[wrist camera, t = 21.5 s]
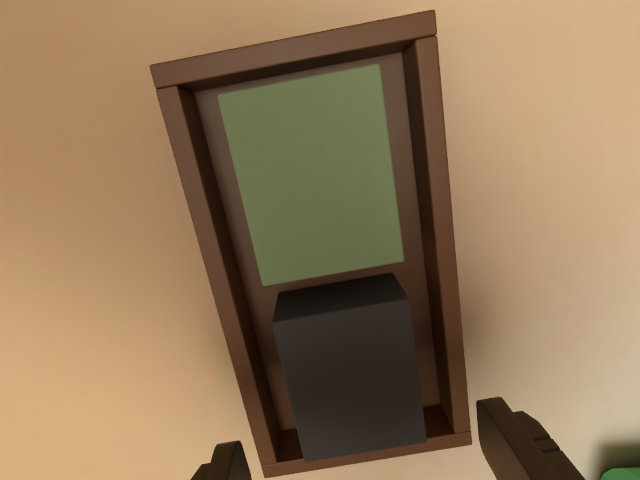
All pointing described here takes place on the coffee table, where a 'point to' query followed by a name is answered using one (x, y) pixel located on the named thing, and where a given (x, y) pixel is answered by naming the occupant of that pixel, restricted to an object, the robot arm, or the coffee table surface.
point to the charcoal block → (350, 366)
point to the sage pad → (315, 174)
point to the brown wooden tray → (412, 274)
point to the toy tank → (622, 474)
